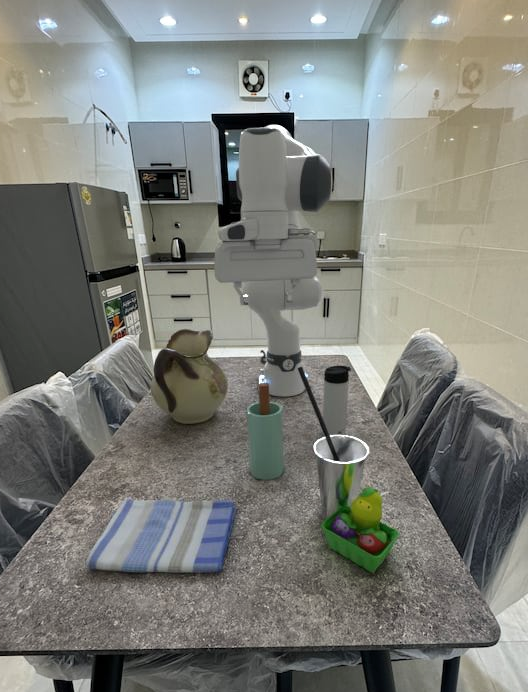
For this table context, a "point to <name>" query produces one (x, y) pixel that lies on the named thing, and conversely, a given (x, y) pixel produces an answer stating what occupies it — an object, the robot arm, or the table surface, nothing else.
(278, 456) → the vase
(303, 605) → the table surface
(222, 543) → the dish towel
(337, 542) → the fruit basket
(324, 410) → the travel mug
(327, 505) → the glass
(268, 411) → the bottle brush
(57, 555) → the table surface
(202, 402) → the pitcher
